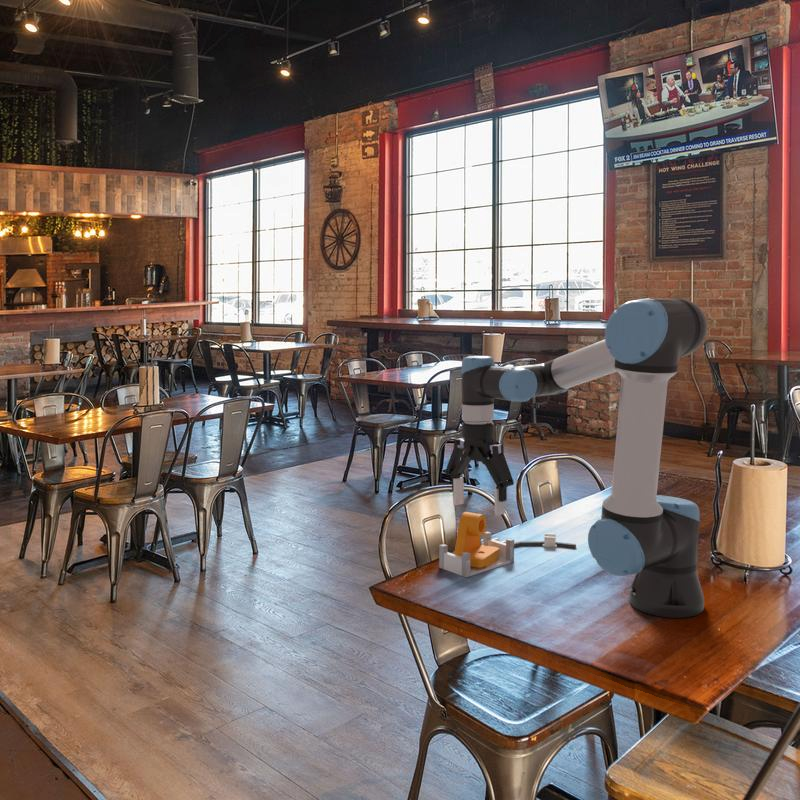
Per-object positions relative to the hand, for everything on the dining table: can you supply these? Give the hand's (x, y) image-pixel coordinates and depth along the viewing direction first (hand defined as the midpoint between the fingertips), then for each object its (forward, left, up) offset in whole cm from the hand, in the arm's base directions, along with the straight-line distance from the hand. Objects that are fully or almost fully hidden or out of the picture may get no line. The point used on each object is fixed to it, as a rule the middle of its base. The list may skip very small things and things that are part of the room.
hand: (478, 509), depth 201 cm
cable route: (-1, -19, -14) cm, 23 cm away
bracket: (0, 0, -14) cm, 14 cm away
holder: (0, 0, -14) cm, 14 cm away
